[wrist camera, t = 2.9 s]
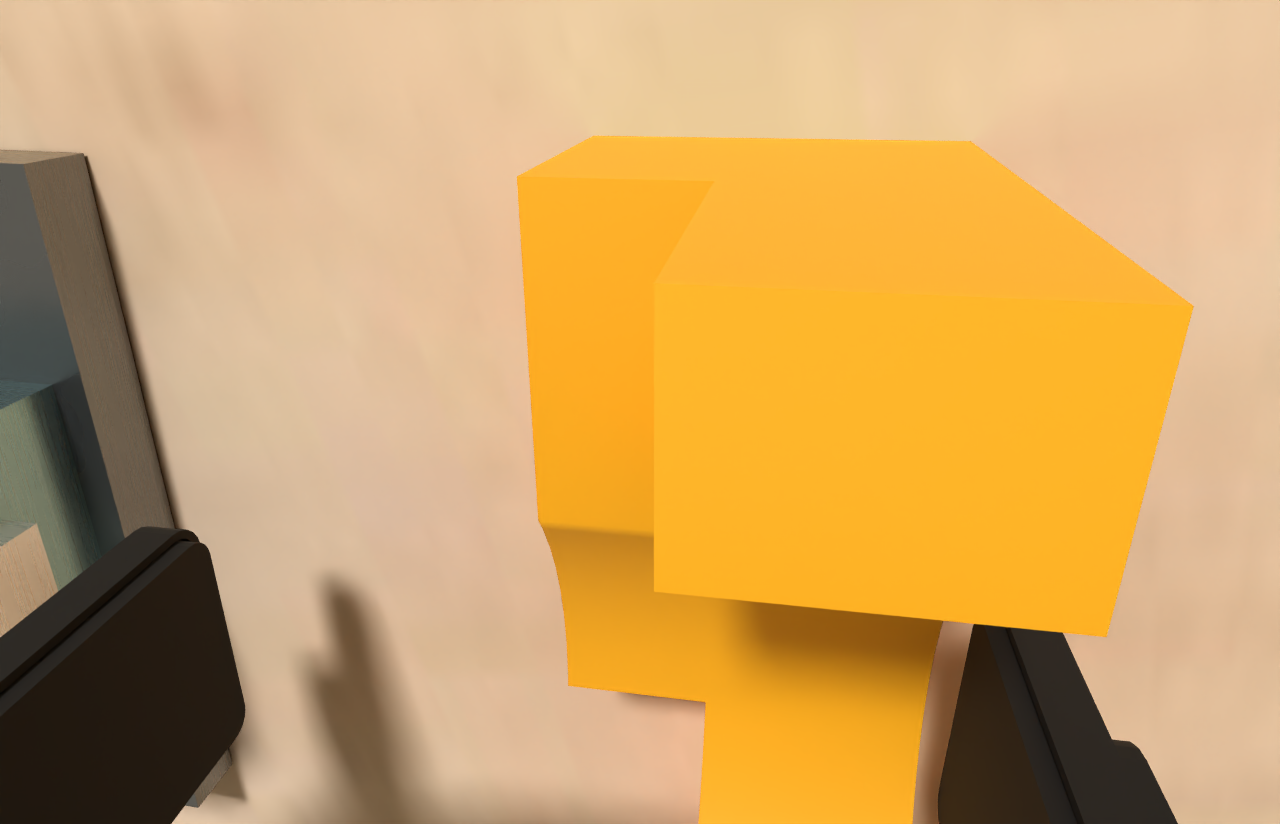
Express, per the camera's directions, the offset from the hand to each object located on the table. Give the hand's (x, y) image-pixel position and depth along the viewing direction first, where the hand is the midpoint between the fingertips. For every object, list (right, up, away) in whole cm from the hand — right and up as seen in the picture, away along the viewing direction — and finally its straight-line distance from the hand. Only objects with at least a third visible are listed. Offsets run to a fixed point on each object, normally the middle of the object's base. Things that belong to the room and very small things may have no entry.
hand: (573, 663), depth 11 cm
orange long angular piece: (+2, +1, +2) cm, 4 cm away
